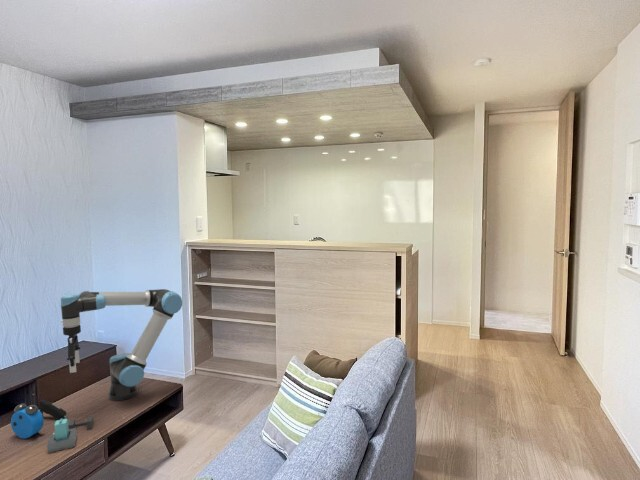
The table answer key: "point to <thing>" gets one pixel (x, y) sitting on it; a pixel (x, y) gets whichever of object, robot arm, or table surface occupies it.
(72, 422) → the grey u-shaped bracket
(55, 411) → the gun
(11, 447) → the table surface
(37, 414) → the alarm clock
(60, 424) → the plug
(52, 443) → the port panel
